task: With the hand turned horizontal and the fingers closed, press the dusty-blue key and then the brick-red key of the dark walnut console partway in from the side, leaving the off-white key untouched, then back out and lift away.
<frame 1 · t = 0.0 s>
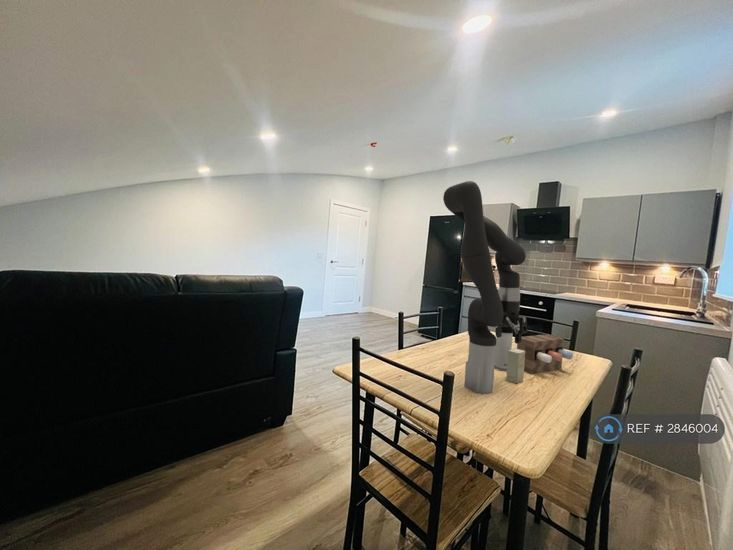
hand: (507, 340, 112), 17 cm above the table, tool pointing down, fingers open, 8 cm apart
blue key: (565, 354, 128), point 8 cm above the table, slide at 0.0 cm
travel mug: (502, 369, 129), on the table
red key: (554, 355, 125), point 8 cm above the table, slide at 0.0 cm
skincare box: (514, 380, 116), on the table
white key: (544, 357, 122), point 8 cm above the table, slide at 0.0 cm
console: (544, 370, 129), on the table
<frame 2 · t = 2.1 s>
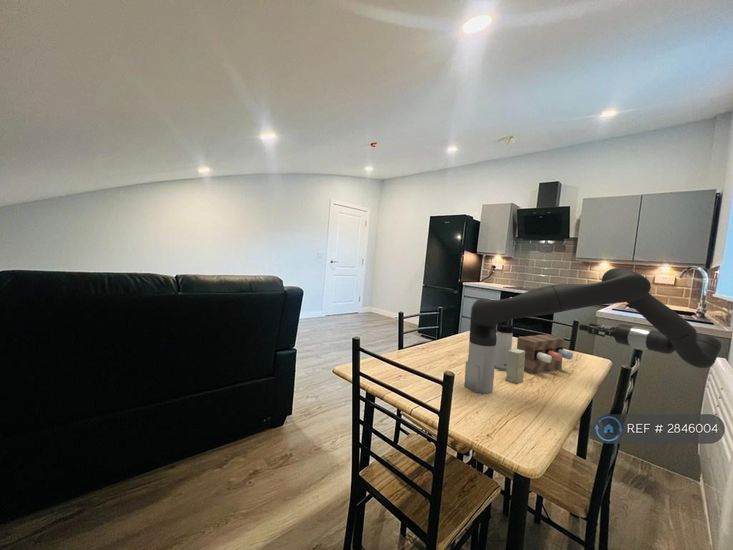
hand: (584, 326, 121), 22 cm above the table, tool horizontal, fingers open, 6 cm apart
nothing on the table moved.
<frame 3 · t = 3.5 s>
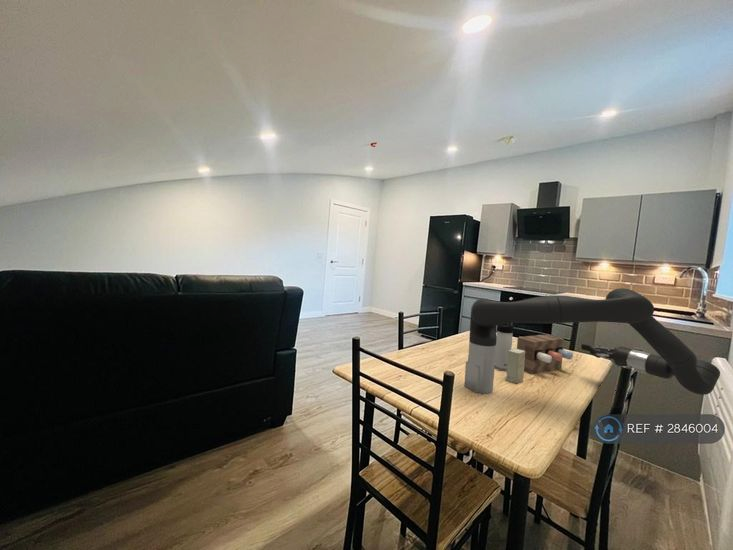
hand: (582, 346, 121), 13 cm above the table, tool horizontal, fingers closed
nothing on the table moved.
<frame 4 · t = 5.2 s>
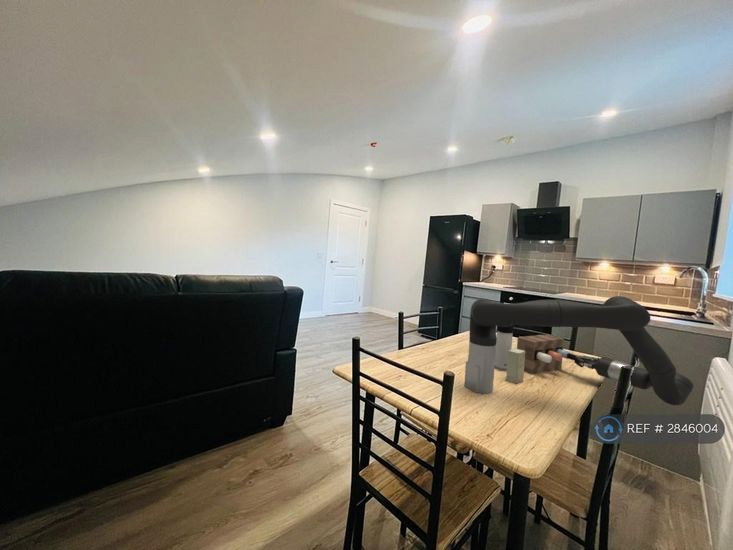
hand: (567, 355, 126), 8 cm above the table, tool horizontal, fingers closed
blue key: (562, 353, 128), point 8 cm above the table, slide at 1.0 cm, touching gripper
everything else where it was.
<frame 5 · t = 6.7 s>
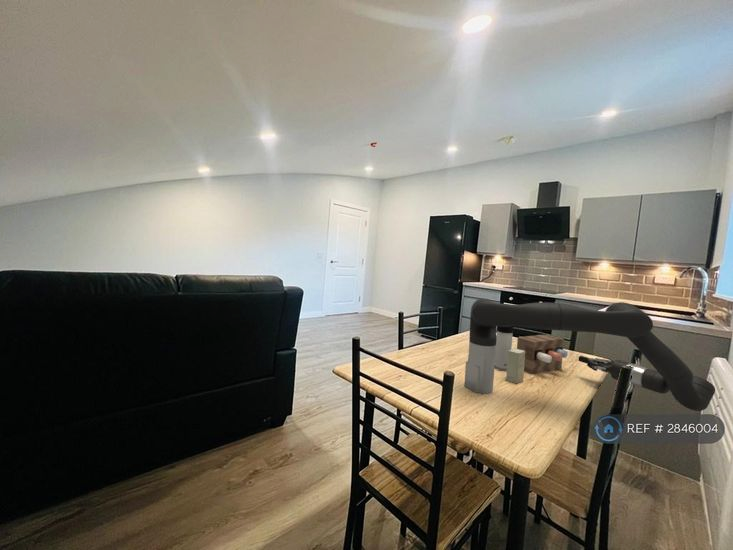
hand: (579, 358, 122), 8 cm above the table, tool horizontal, fingers closed
blue key: (560, 352, 130), point 8 cm above the table, slide at 2.1 cm
everything else where it was.
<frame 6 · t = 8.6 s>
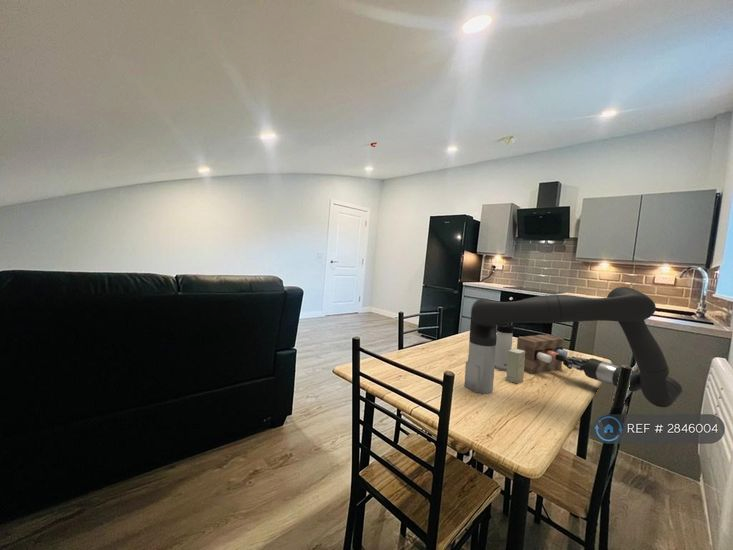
hand: (556, 356, 124), 8 cm above the table, tool horizontal, fingers closed
red key: (551, 354, 126), point 8 cm above the table, slide at 1.4 cm, touching gripper
everything else where it was.
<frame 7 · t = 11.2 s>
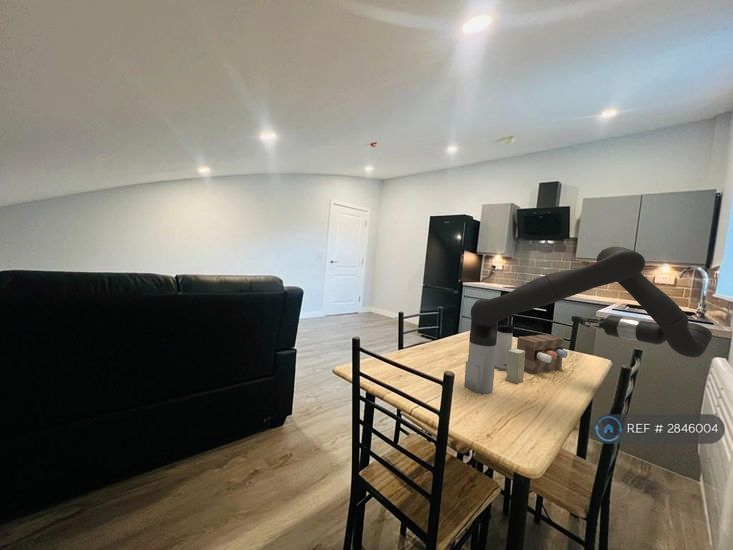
hand: (572, 318, 118), 26 cm above the table, tool horizontal, fingers closed
red key: (549, 354, 127), point 8 cm above the table, slide at 2.1 cm
everything else where it was.
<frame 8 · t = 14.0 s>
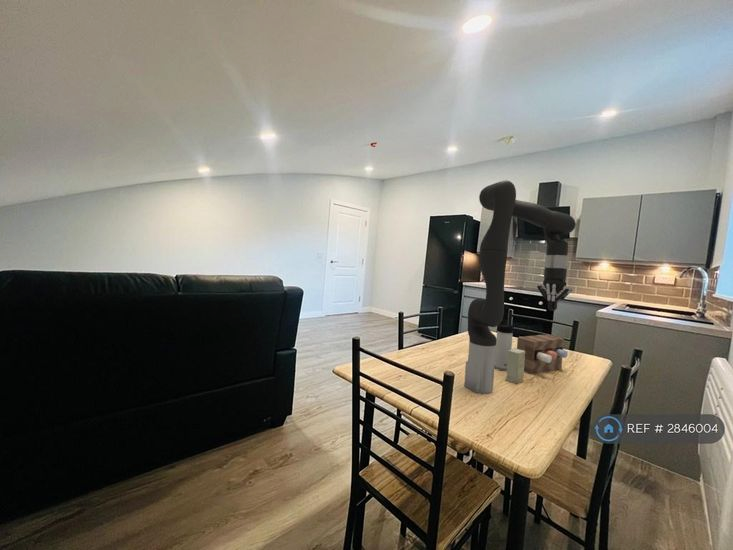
hand: (552, 310, 115), 29 cm above the table, tool pointing down, fingers closed
nothing on the table moved.
at the end: blue key slide at 2.1 cm; red key slide at 2.1 cm; white key slide at 0.0 cm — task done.
